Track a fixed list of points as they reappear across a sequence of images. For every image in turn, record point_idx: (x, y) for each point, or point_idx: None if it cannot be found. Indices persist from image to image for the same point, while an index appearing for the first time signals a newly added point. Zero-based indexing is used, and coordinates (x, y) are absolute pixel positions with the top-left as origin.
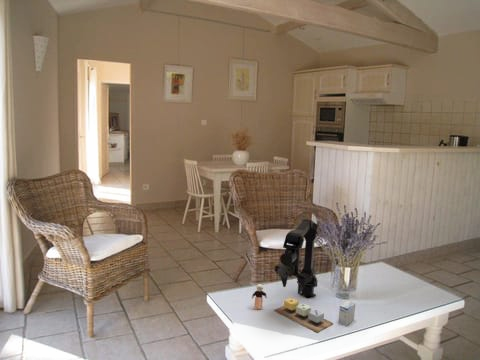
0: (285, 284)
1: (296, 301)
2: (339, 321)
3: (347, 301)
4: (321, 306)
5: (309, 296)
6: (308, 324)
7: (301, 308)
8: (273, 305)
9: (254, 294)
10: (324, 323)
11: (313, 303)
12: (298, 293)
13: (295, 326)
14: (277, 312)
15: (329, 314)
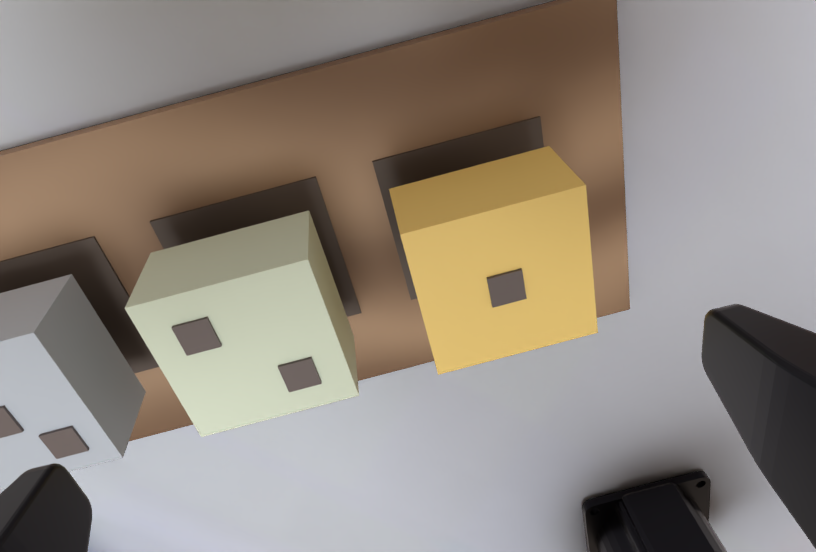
0: (751, 418)
1: (453, 349)
2: None
3: None
4: (399, 527)
5: (603, 526)
6: (21, 216)
7: (205, 301)
8: (732, 82)
9: None
10: None
11: (487, 497)
12: (24, 480)
13: (43, 17)
14: (537, 6)
15: (226, 518)
